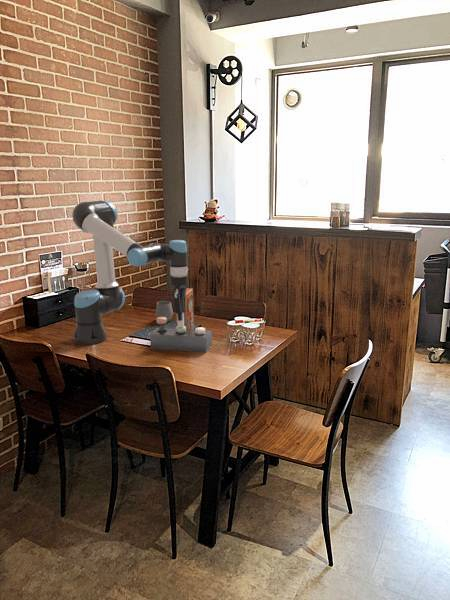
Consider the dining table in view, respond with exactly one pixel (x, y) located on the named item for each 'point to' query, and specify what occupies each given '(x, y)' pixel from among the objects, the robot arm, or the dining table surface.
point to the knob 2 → (200, 330)
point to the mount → (180, 340)
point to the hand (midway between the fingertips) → (181, 326)
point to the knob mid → (181, 330)
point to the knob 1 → (161, 323)
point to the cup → (164, 310)
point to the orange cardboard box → (188, 310)
